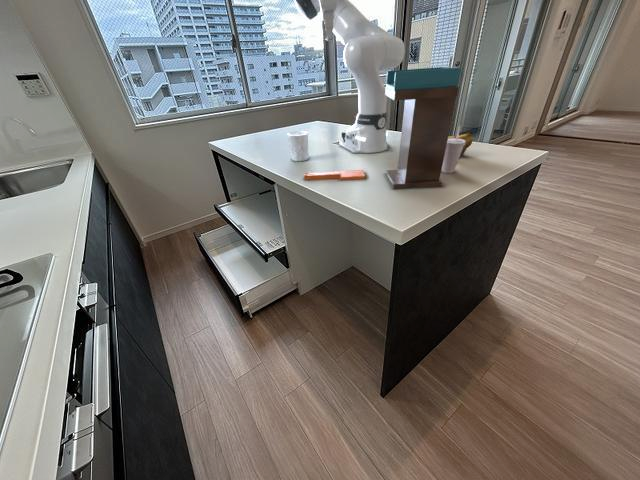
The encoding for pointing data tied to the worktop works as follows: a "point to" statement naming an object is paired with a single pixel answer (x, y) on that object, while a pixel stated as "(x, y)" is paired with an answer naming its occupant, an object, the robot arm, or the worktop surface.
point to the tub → (423, 78)
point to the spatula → (336, 175)
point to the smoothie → (452, 153)
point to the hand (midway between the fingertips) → (329, 39)
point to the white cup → (299, 145)
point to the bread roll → (467, 138)
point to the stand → (422, 136)
